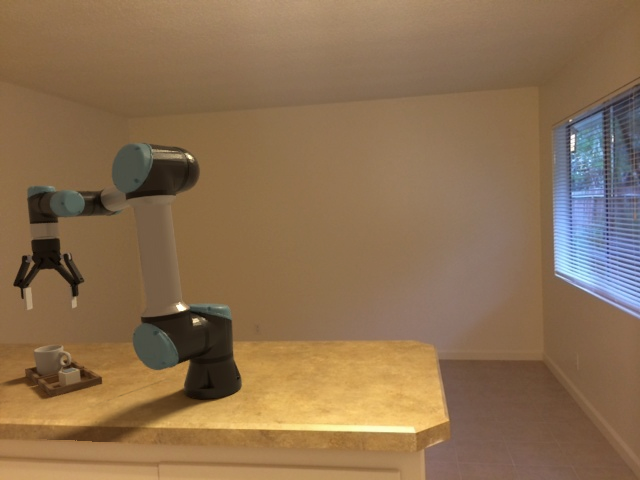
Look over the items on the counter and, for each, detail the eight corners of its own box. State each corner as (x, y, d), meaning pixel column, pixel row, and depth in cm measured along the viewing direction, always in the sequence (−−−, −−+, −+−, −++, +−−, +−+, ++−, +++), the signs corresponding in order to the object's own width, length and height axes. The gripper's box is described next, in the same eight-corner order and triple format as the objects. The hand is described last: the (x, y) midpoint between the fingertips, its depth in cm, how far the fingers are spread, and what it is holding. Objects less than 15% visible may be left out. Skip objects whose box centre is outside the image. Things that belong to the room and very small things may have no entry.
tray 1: (85, 375, 150) (84, 366, 150) (37, 387, 141) (36, 378, 141) (71, 366, 159) (70, 358, 159) (25, 377, 150) (25, 369, 150)
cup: (79, 369, 153) (77, 344, 153) (63, 378, 145) (61, 351, 145) (46, 369, 154) (44, 344, 154) (29, 378, 147) (27, 352, 146)
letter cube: (80, 383, 140) (79, 369, 140) (66, 388, 137) (65, 373, 137) (73, 381, 143) (72, 367, 142) (59, 385, 139) (58, 371, 139)
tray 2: (102, 385, 140) (101, 377, 139) (51, 399, 131) (51, 390, 130) (86, 375, 149) (85, 367, 149) (38, 387, 140) (37, 379, 140)
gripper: (92, 235, 151) (97, 304, 152) (12, 239, 151) (18, 307, 153) (80, 236, 143) (85, 309, 145) (-5, 240, 144) (2, 312, 145)
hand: (51, 308), depth 149 cm, fingers open, 13 cm apart
